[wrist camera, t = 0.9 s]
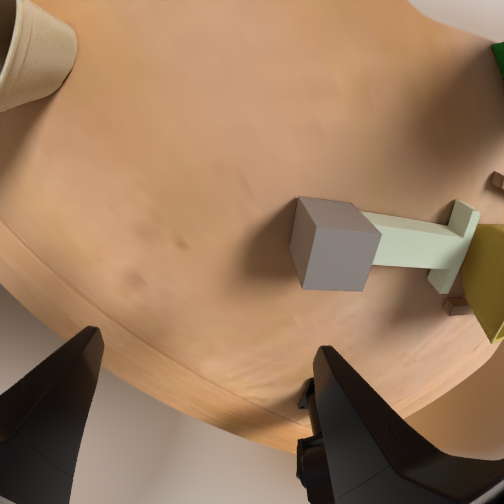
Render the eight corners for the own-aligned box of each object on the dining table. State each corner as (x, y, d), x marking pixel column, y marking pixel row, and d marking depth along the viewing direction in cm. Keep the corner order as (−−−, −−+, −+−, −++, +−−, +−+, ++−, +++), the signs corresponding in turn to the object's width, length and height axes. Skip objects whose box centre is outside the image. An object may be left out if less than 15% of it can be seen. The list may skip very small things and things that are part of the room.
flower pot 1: (-4, 60, 11) (-77, 67, 4) (77, -18, 10) (10, -50, 2) (27, 142, 16) (-52, 175, 8) (117, 66, 14) (39, 52, 7)
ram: (435, 279, 23) (462, 311, 19) (284, 271, 22) (295, 315, 18) (464, 201, 19) (501, 226, 15) (303, 167, 18) (324, 190, 14)
